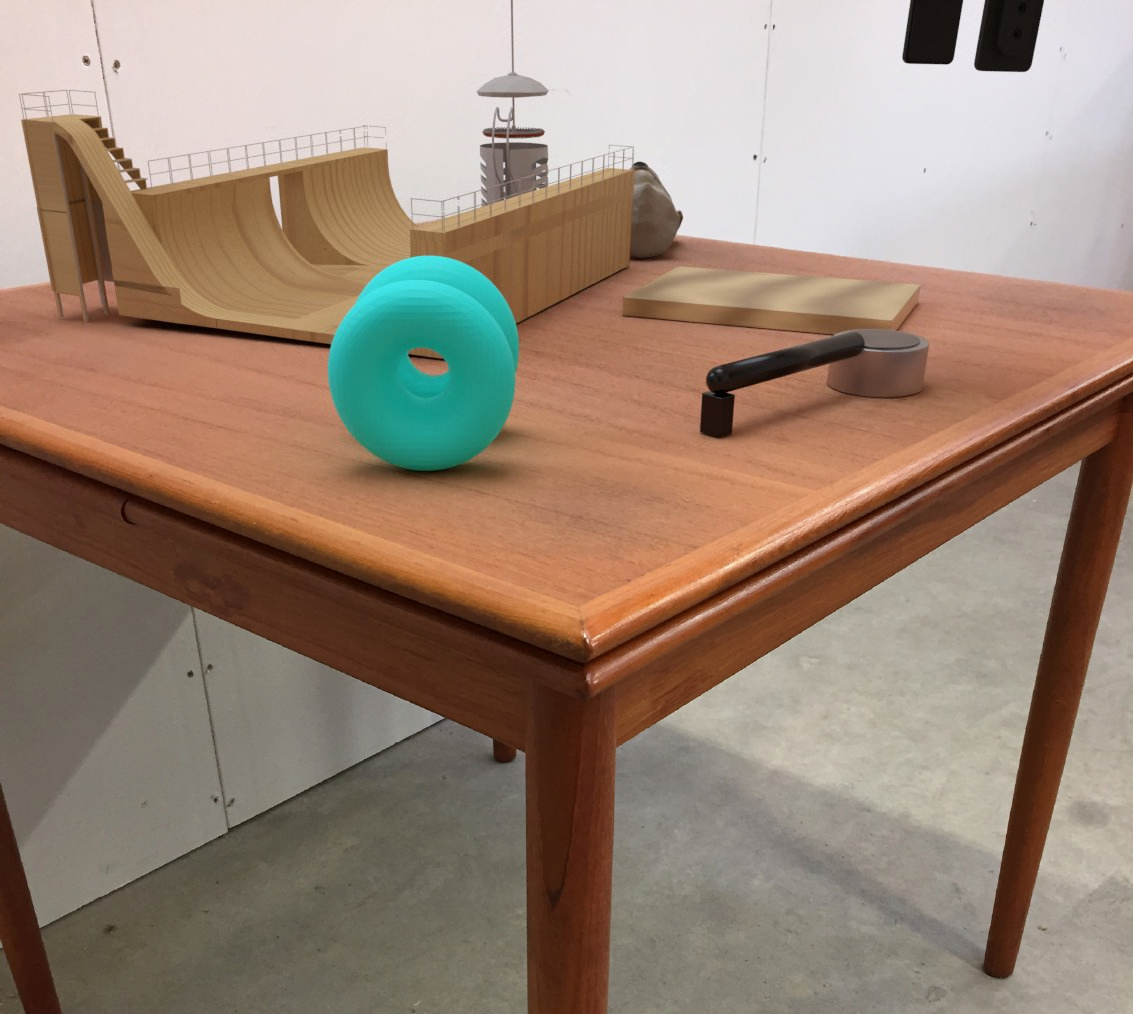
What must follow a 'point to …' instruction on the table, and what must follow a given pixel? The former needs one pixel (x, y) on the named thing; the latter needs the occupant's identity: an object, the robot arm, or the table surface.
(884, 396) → the saucepan
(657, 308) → the cutting board
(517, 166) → the bird feeder
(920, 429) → the table surface
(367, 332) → the donuts
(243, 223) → the skate ramp
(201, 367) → the table surface
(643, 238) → the ceramic sculpture
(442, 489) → the table surface
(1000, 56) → the robot arm
